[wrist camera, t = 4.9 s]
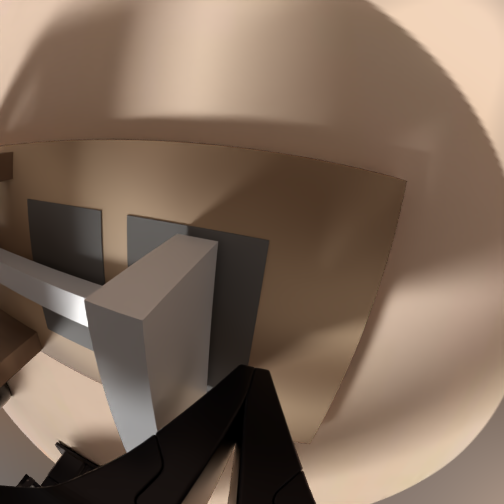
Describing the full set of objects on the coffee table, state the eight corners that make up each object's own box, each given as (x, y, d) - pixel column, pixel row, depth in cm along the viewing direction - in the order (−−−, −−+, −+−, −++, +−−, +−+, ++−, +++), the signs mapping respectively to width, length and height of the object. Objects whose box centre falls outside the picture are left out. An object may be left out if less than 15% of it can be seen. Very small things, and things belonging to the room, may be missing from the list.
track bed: (311, 427, 11) (309, 444, 10) (-25, 292, 15) (-34, 297, 14) (396, 177, 8) (407, 181, 7) (-43, 153, 11) (-53, 155, 10)
